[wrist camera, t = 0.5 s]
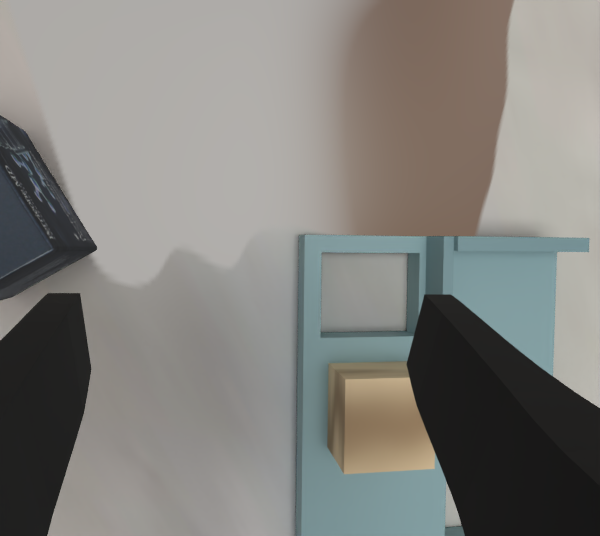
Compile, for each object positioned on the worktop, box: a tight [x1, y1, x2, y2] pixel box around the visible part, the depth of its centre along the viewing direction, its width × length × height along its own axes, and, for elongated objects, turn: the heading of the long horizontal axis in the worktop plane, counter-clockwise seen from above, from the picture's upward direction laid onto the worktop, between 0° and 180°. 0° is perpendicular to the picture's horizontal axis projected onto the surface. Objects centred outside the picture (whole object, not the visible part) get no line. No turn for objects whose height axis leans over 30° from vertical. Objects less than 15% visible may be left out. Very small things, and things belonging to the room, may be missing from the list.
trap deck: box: [296, 235, 589, 536], centre depth 34 cm, size 20×16×5 cm
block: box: [327, 361, 435, 474], centre depth 32 cm, size 5×5×4 cm
